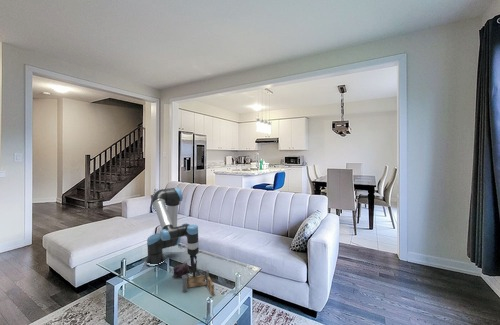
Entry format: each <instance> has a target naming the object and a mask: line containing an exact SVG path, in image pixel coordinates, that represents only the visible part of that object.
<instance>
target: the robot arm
mask: <svg viewBox="0 0 500 325" xmlns="http://www.w3.org/2000/svg"><path fill="white" fill-rule="evenodd" d="M183 199H184V198H183V192H182V190H181V188H179V187H174V188H173V187H171V188H163V189H162V188H161V189H159V190H157V191H155V193H154V194H153V195H152V198H151V204H152V207H153V208H154V210H155V212H156V215H157V218H158V221H159V223H160V224H159V225H160V227H161V230H160V233H153V234H151V235H150V236H148V237H147V242H146V244H147V256H146V259H145V263H146V262H147V263H150V264H158V265H155V266H154V267H158V266H160V265H162V264H164V263H165V261H166V258H165V257H166V256H165V255H164V253H163V250H164V249H167V248H168V249H169V248H171V247H176V246H178V245H179V244H180V243H181V237H186V246H187V255H188V256H189V257H190V269H191V271H190V273H191V277H195V276H197V271H198V270H197V268H198V267H197V263H198V260H197V259H198V258H197V257H198V256H197V254H199V252H200V250H199V243H200V242H199V226H198V225H197V224H189V223H186V222H185V223H182V224H181V225H179V226H178V211H179V210H178V209H179V206H180V203H181V202H182V201H183ZM164 260H165V261H164ZM163 261H164V262H163ZM161 262H163V263H161ZM159 263H161V264H159Z"/></svg>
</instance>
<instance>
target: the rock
mask: <svg viewBox="0 0 500 325" xmlns="http://www.w3.org/2000/svg"><path fill="white" fill-rule="evenodd" d="M187 262H188V261H187ZM187 262H183V263H180V264H178V265H176V266H175V267H173V268H172V269H173V276H174V277H175V278H177V277H180V278H182V275H187V274H188V272H189V271H190V267H189V264H188V263H187Z"/></svg>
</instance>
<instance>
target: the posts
mask: <svg viewBox="0 0 500 325" xmlns="http://www.w3.org/2000/svg"><path fill="white" fill-rule="evenodd" d="M207 276H209V277H210V271H209V270H207V269H206V270H205V286H206V287H207ZM187 277H188V276H187V274H186V275H182V277H181V280H182V293H184V294H185V293H187V292H188V288H187Z"/></svg>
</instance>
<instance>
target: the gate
mask: <svg viewBox="0 0 500 325" xmlns="http://www.w3.org/2000/svg"><path fill="white" fill-rule="evenodd" d="M201 286H202V287H203V286H206V274H201V275H196V276H195V277H192V276H187V289H189V288H194V287H201Z"/></svg>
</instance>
